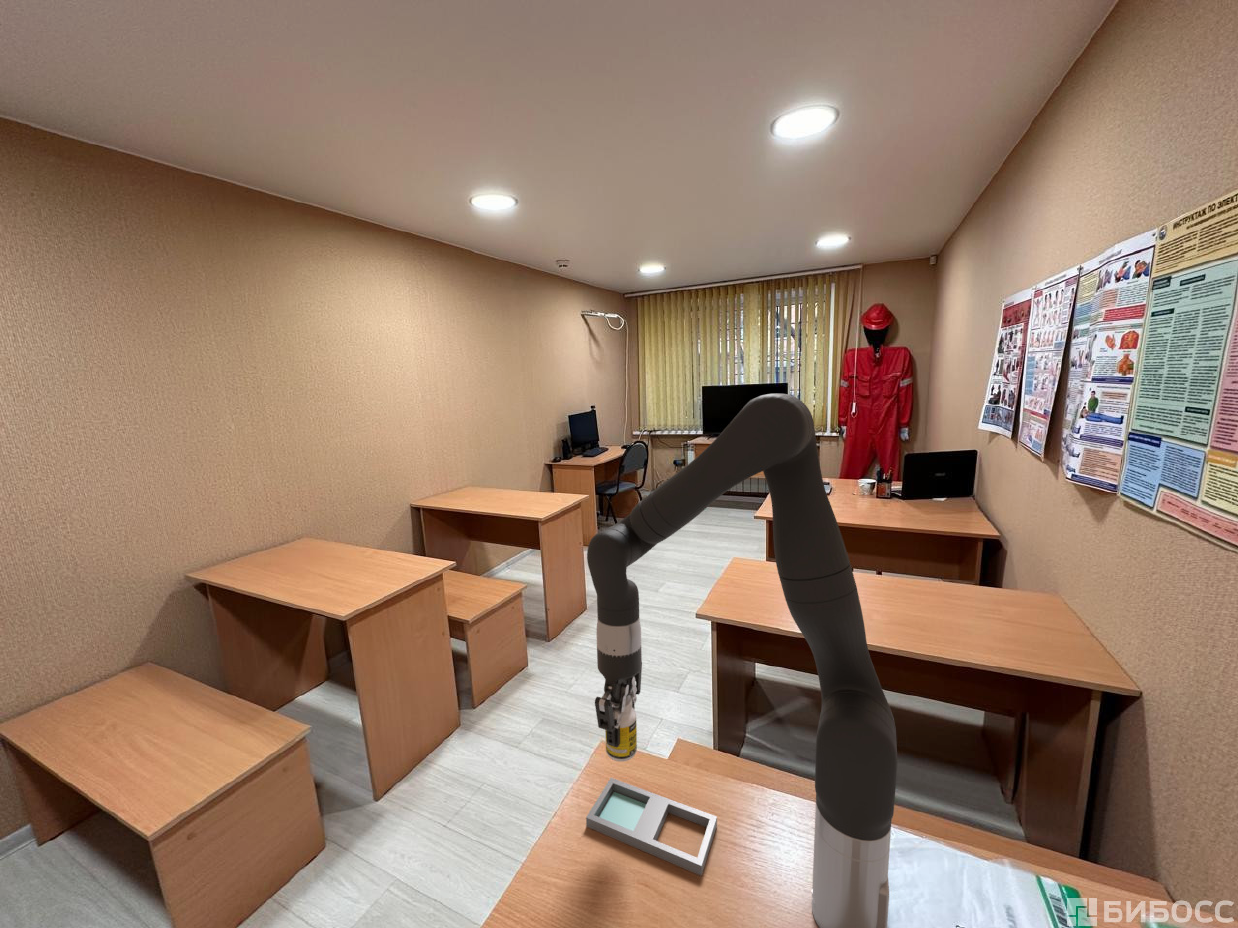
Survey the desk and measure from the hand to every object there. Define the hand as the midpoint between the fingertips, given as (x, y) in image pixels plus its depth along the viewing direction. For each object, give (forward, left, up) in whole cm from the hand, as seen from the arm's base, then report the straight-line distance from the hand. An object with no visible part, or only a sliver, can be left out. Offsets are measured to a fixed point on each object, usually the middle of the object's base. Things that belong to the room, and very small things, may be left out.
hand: (621, 732), depth 82 cm
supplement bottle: (0, 0, -4) cm, 4 cm away
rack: (-5, 0, -16) cm, 17 cm away
